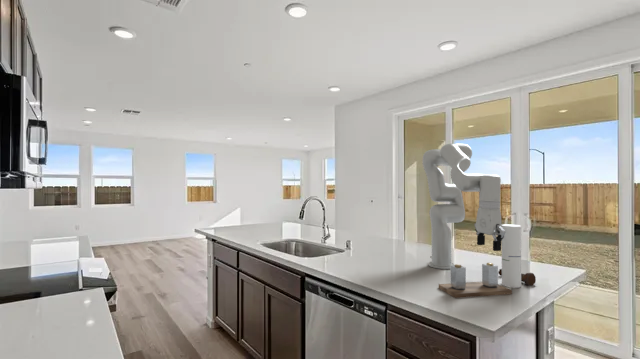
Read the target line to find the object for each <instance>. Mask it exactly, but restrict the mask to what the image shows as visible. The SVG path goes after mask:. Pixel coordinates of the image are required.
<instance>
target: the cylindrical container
mask: <svg viewBox="0 0 640 359" xmlns="http://www.w3.org/2000/svg"><path fill="white" fill-rule="evenodd" d="M502 228H503V229H504V230H505V231H506V233H505V235H504V238H503V240H502V241H501V269H502V276H501V284H502V285H501V286H504V287H506V288H515V289H517V288H521V287H522V281H521V273H522V225H520V224H510V223H509V224H508V223H507V224H502Z"/></svg>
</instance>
